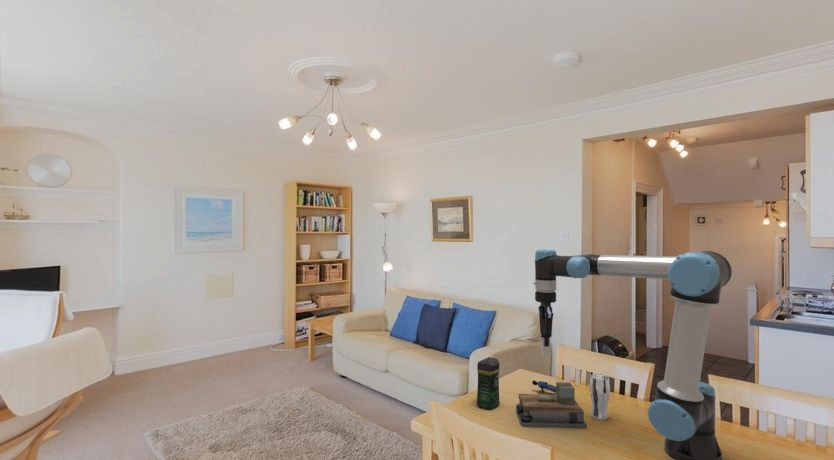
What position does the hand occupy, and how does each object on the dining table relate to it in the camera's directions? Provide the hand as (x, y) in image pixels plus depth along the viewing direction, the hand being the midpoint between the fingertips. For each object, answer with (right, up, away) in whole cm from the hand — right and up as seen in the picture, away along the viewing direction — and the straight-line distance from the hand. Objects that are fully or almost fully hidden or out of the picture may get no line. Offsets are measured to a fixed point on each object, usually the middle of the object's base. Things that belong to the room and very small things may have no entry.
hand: (545, 354), depth 156 cm
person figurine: (+10, -25, +23) cm, 36 cm away
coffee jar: (-19, -25, +13) cm, 34 cm away
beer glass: (+21, -25, +3) cm, 33 cm away
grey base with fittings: (+2, -24, 0) cm, 24 cm away
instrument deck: (+1, -19, 0) cm, 19 cm away
